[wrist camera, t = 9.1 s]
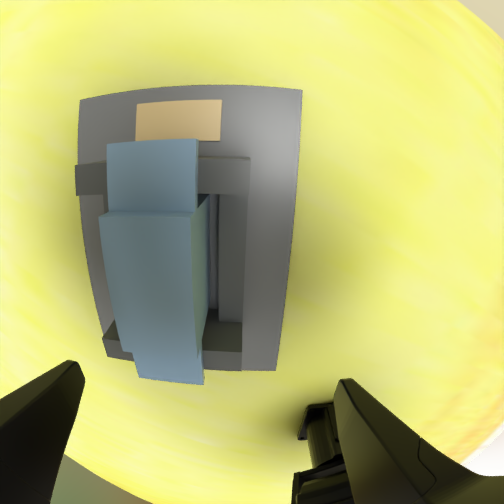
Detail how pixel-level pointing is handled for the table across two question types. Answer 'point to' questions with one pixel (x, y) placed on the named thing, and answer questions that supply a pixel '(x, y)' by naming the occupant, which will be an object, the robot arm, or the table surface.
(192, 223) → the block
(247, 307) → the chassis plate
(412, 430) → the robot arm
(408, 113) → the table surface
